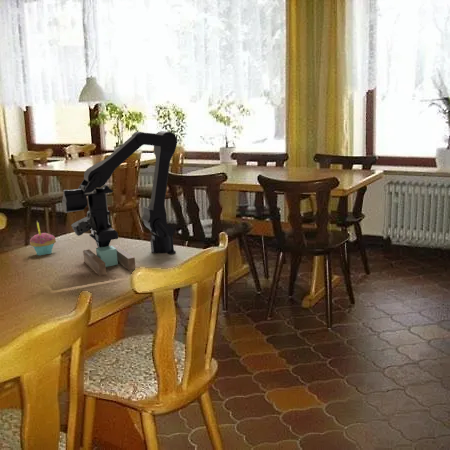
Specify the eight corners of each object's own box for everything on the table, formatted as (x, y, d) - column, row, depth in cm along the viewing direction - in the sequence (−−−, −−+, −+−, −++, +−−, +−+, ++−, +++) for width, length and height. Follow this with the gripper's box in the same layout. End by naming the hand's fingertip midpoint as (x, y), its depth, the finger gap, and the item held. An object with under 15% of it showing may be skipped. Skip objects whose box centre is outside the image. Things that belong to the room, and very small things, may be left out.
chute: (118, 258, 210) (116, 244, 209) (135, 271, 194) (134, 257, 193) (84, 263, 205) (82, 250, 204) (99, 278, 189) (98, 263, 188)
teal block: (113, 260, 204) (111, 245, 203) (117, 264, 200) (116, 248, 199) (97, 263, 202) (95, 248, 201) (101, 267, 198) (100, 251, 197)
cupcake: (49, 257, 215) (45, 222, 212) (26, 257, 217) (21, 222, 214) (61, 250, 223) (57, 216, 221) (38, 250, 225) (34, 216, 222)
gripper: (65, 206, 206) (70, 254, 210) (79, 217, 190) (84, 268, 193) (100, 202, 211) (104, 248, 214) (116, 211, 194) (121, 262, 198)
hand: (103, 256), depth 205 cm, fingers closed
